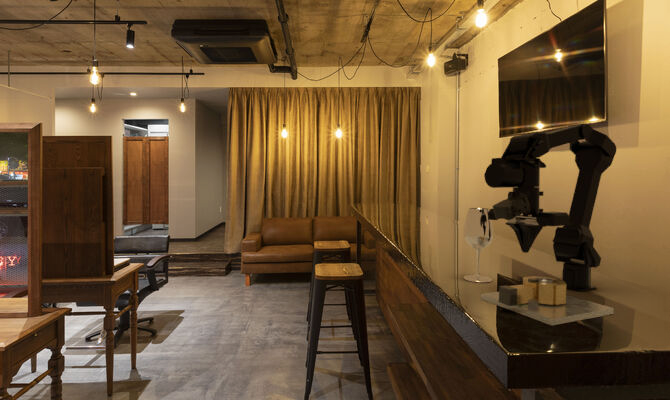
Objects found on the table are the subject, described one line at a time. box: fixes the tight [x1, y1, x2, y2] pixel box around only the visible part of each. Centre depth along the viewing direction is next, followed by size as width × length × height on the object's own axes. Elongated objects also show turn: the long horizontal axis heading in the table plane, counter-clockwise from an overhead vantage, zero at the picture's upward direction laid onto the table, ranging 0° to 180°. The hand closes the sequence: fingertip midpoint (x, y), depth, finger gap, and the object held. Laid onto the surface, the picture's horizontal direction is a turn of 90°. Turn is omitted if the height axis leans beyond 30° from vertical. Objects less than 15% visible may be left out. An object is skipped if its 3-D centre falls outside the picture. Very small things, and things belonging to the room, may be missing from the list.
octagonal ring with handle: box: [498, 275, 567, 306], centre depth 81 cm, size 8×15×5 cm, turn 112°
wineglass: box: [463, 207, 495, 284], centre depth 106 cm, size 8×8×20 cm
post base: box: [480, 276, 615, 326], centre depth 83 cm, size 18×18×6 cm
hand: (525, 252), depth 91 cm, fingers closed
